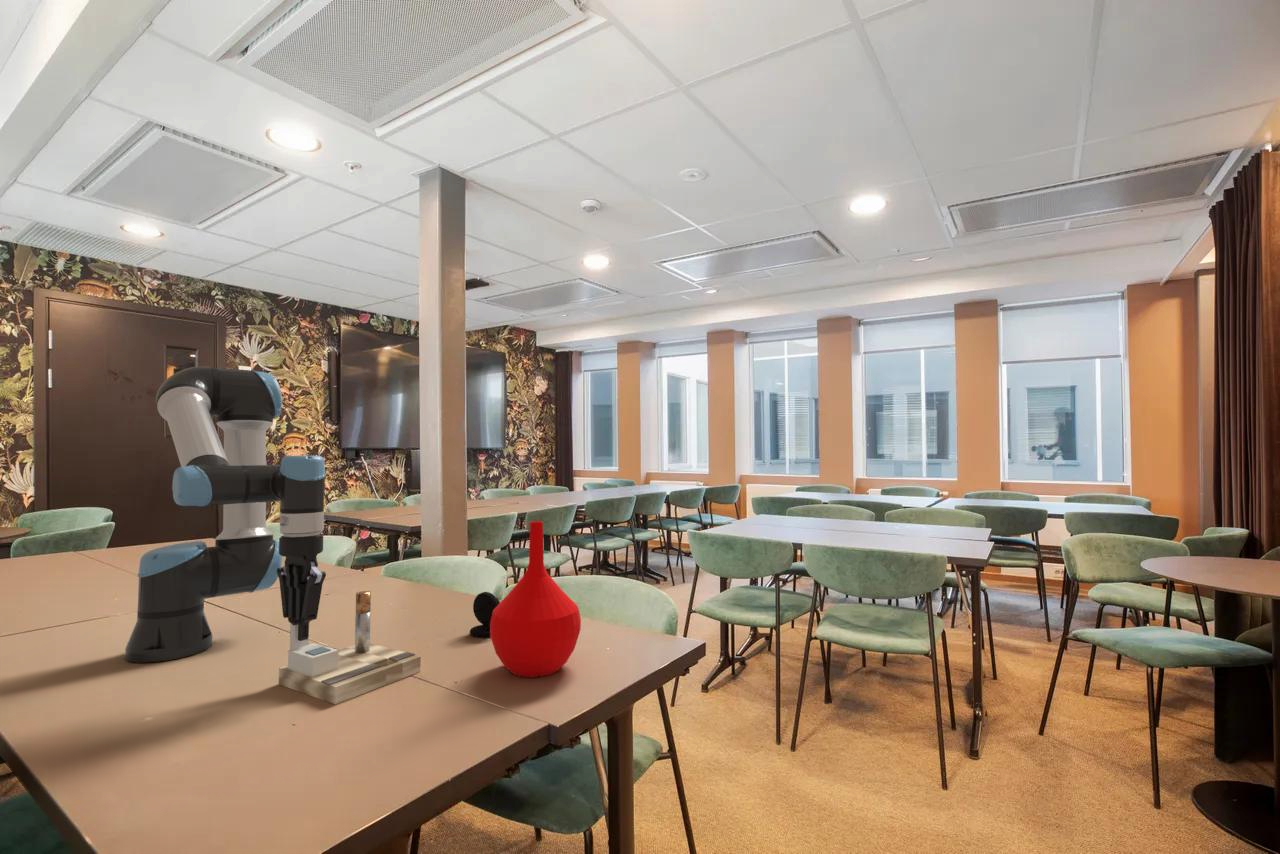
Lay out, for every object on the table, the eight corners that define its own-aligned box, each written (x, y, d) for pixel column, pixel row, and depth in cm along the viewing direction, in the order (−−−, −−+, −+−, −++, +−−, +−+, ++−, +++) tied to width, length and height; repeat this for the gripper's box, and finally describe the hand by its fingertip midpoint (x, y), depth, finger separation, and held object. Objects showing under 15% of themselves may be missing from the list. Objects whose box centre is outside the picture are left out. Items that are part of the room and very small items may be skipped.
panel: (278, 684, 112) (279, 667, 112) (364, 655, 128) (364, 640, 128) (335, 704, 103) (335, 685, 103) (420, 671, 118) (420, 655, 119)
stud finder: (287, 669, 112) (288, 649, 112) (313, 661, 116) (314, 642, 116) (312, 677, 107) (312, 656, 108) (338, 668, 112) (338, 649, 112)
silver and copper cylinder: (351, 652, 121) (353, 593, 122) (364, 648, 124) (365, 590, 124) (360, 654, 120) (361, 594, 120) (372, 650, 122) (373, 592, 123)
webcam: (508, 632, 145) (508, 591, 145) (485, 640, 138) (485, 597, 139) (486, 627, 149) (486, 587, 149) (462, 634, 142) (463, 593, 143)
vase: (596, 660, 125) (597, 519, 126) (548, 693, 108) (549, 529, 109) (525, 648, 132) (526, 515, 134) (469, 677, 116) (471, 524, 117)
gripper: (263, 534, 115) (260, 656, 114) (301, 538, 109) (298, 668, 108) (302, 529, 122) (299, 645, 121) (339, 533, 115) (337, 656, 114)
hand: (298, 656), depth 114 cm, fingers closed
